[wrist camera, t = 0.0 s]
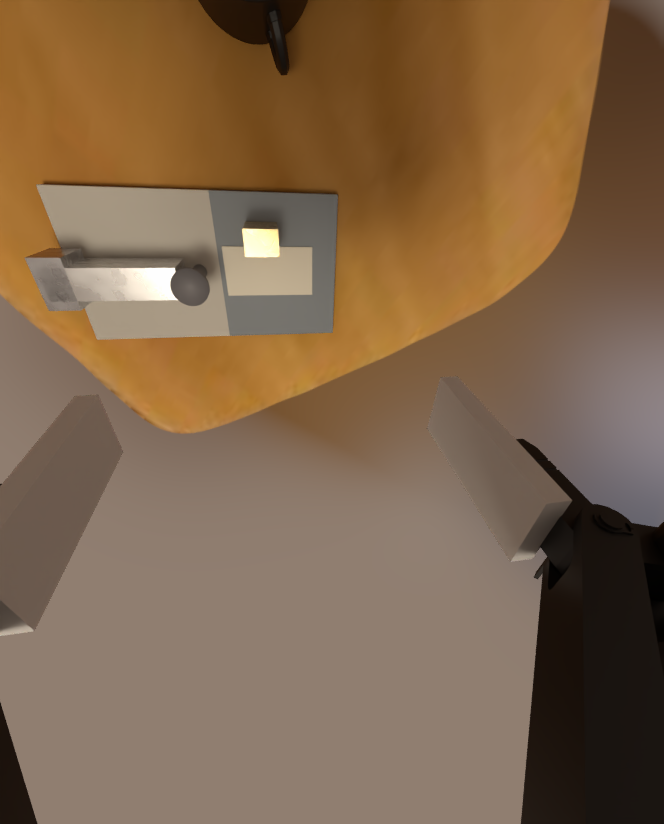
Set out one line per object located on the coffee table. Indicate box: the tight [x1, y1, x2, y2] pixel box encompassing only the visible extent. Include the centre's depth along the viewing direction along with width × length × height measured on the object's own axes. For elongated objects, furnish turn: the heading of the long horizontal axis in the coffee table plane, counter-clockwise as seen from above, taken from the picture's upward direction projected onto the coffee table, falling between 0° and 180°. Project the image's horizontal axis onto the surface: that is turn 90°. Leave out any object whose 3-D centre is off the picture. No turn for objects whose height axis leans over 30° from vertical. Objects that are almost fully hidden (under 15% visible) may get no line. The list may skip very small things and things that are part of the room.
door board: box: [36, 184, 338, 340], centre depth 33 cm, size 14×26×7 cm, turn 88°
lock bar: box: [25, 248, 185, 311], centre depth 31 cm, size 11×4×4 cm, turn 88°
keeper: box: [242, 221, 280, 257], centre depth 31 cm, size 2×3×5 cm
